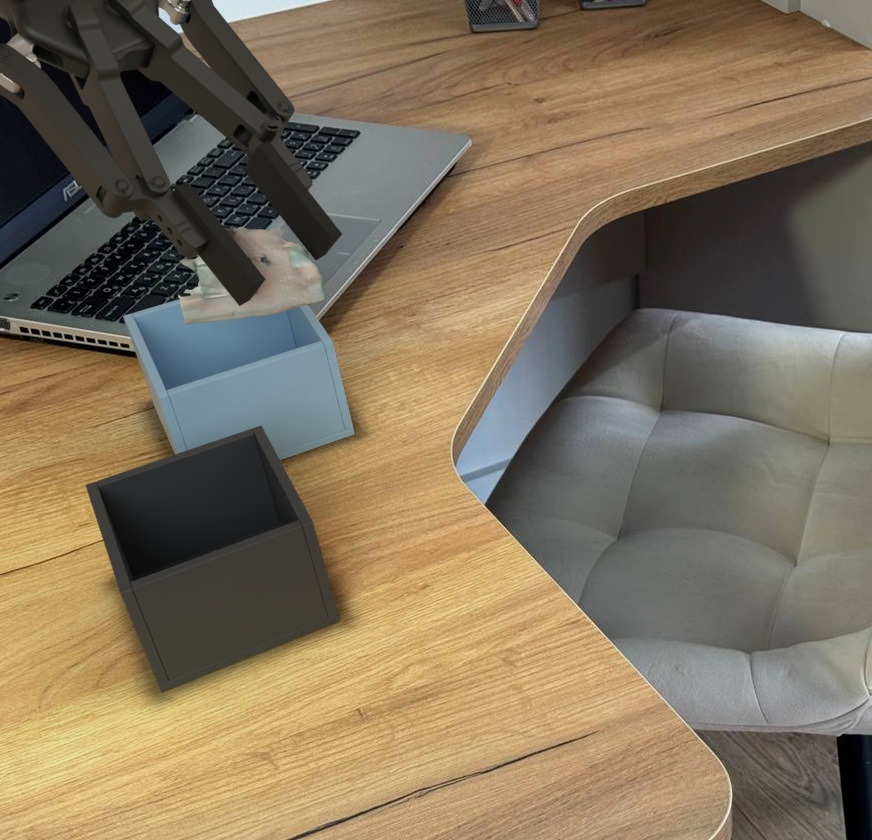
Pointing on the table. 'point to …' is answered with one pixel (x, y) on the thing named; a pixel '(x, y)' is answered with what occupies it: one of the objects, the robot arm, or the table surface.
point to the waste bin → (213, 556)
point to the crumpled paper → (282, 289)
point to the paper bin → (242, 378)
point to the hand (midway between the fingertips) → (291, 268)
